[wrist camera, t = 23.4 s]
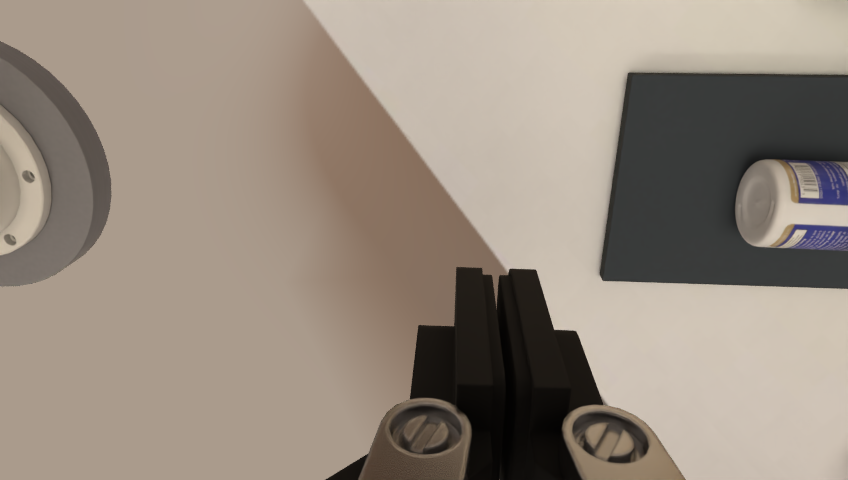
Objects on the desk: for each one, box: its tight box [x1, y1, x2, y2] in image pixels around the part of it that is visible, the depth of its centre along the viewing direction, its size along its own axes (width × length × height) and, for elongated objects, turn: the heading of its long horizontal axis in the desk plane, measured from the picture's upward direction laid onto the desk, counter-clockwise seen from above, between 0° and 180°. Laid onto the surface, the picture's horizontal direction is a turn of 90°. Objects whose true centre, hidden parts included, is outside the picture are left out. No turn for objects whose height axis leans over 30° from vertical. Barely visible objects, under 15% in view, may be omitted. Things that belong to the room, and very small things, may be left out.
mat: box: [600, 73, 848, 289], centre depth 36 cm, size 18×14×1 cm
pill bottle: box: [735, 159, 848, 251], centre depth 34 cm, size 5×5×9 cm
